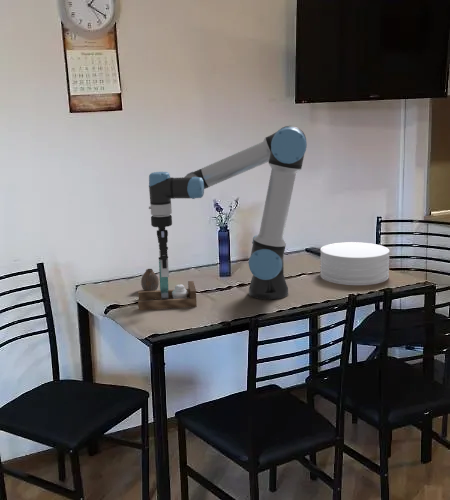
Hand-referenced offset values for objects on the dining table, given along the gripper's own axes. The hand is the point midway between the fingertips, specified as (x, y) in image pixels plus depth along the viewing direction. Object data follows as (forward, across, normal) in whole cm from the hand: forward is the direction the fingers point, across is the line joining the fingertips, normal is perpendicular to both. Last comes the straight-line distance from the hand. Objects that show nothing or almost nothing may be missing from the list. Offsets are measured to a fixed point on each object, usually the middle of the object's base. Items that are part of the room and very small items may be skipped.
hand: (164, 271), depth 255 cm
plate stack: (+13, -23, +79) cm, 83 cm away
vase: (+12, -17, -6) cm, 22 cm away
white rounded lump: (+12, 0, +5) cm, 13 cm away
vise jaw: (+12, 0, 0) cm, 12 cm away
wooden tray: (+12, 0, 0) cm, 12 cm away
